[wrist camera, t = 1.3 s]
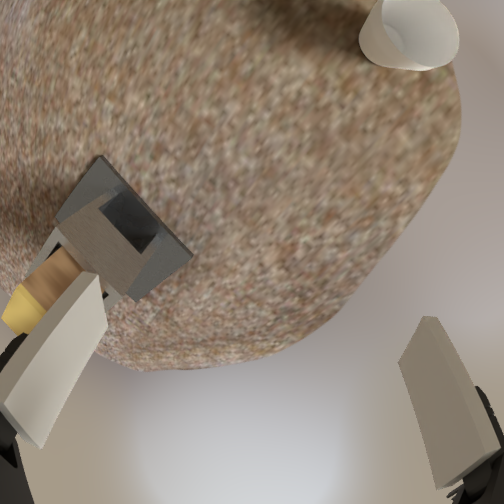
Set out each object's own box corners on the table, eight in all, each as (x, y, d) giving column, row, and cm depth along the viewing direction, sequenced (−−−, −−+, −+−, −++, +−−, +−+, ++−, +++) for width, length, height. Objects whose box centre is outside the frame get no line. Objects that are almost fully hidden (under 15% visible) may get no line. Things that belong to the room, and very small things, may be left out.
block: (62, 256, 36) (1, 318, 24) (85, 226, 34) (16, 287, 21) (96, 292, 38) (45, 363, 26) (123, 266, 36) (68, 341, 24)
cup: (376, 87, 32) (416, 83, 22) (335, 30, 29) (360, 2, 19) (425, 59, 30) (474, 51, 19) (386, 4, 27) (425, -24, 16)
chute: (58, 214, 43) (0, 257, 30) (102, 155, 39) (36, 184, 25) (137, 299, 50) (102, 361, 36) (193, 254, 45) (163, 319, 32)
